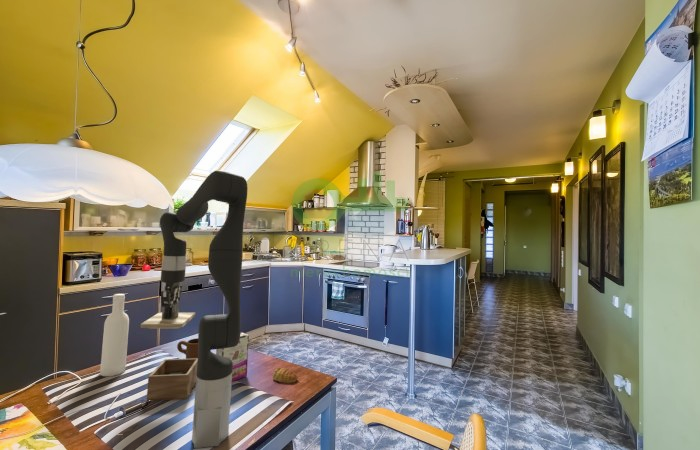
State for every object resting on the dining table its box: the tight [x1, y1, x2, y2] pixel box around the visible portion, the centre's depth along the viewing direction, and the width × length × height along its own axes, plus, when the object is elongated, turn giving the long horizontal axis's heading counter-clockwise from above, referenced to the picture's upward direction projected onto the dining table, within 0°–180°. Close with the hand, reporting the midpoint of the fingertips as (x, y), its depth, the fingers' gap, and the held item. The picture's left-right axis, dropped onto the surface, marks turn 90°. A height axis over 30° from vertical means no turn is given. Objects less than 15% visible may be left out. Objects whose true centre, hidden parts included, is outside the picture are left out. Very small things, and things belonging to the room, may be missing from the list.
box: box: [146, 358, 198, 402], centre depth 108 cm, size 14×12×8 cm
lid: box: [140, 302, 196, 330], centre depth 108 cm, size 15×13×7 cm
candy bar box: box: [215, 331, 250, 382], centre depth 118 cm, size 11×5×16 cm, turn 143°
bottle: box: [99, 293, 130, 377], centre depth 119 cm, size 8×8×30 cm
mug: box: [176, 338, 198, 359], centre depth 130 cm, size 12×8×9 cm, turn 89°
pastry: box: [272, 367, 299, 384], centre depth 120 cm, size 9×7×4 cm
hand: (170, 316), depth 108 cm, fingers closed on lid, 4 cm apart
